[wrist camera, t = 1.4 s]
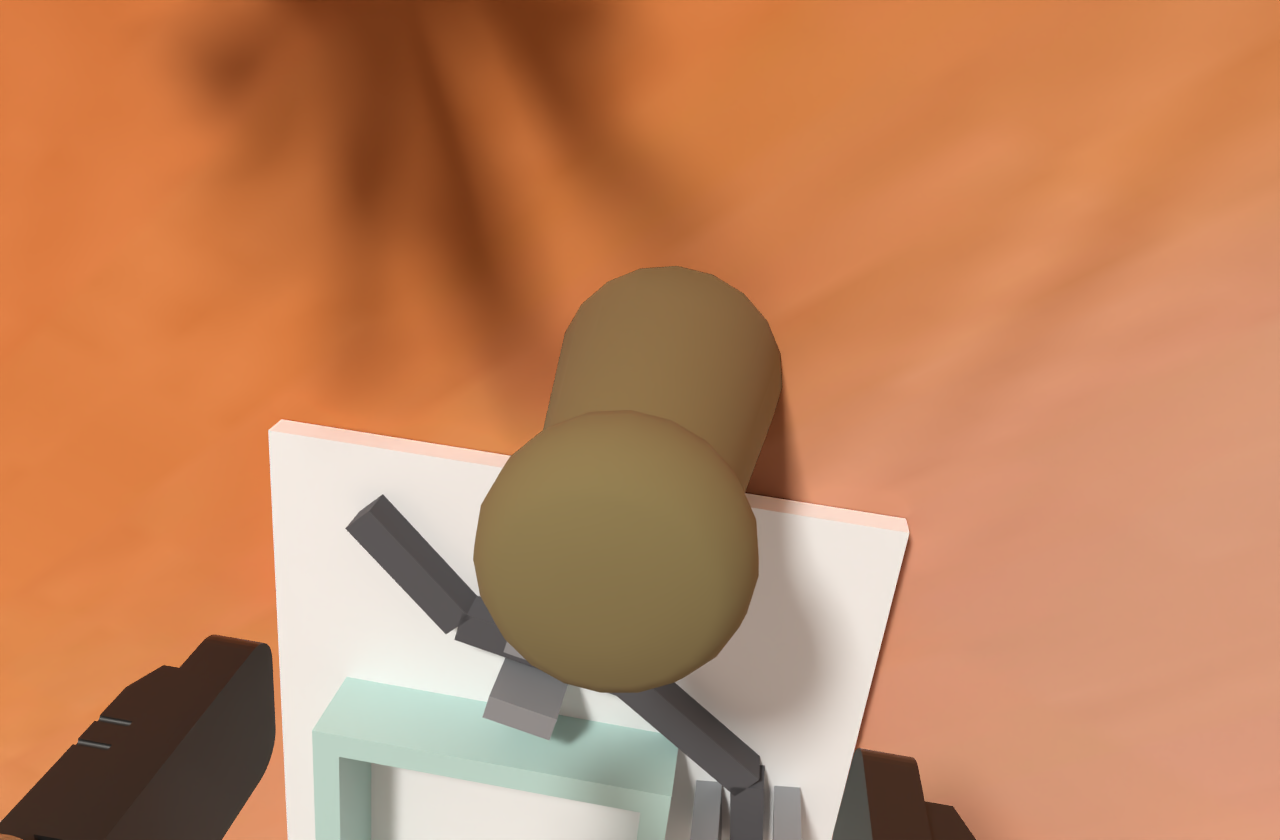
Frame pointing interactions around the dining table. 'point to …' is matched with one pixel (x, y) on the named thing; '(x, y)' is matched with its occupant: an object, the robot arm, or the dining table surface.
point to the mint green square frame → (478, 756)
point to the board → (531, 699)
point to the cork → (636, 487)
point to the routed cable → (464, 609)
